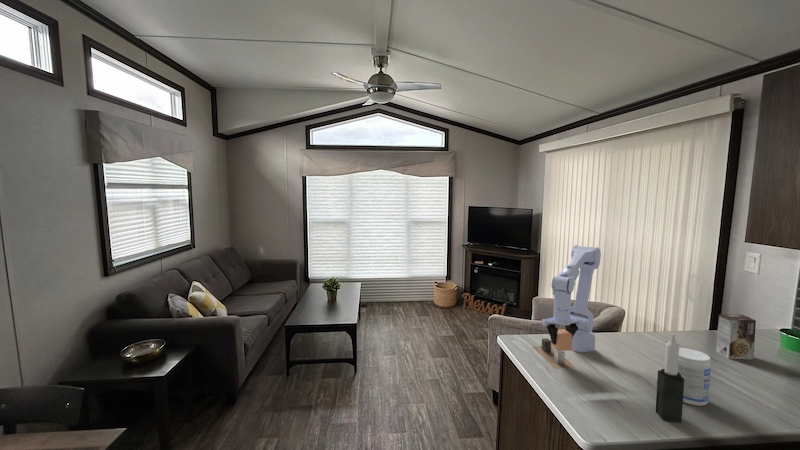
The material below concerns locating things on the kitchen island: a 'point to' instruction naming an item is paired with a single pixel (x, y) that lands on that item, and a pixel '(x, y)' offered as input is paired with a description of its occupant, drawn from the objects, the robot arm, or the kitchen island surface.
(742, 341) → the printed cardboard box
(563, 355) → the steel post
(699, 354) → the supplement tub
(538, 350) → the stand
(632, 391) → the kitchen island surface
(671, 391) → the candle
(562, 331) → the peach cube
